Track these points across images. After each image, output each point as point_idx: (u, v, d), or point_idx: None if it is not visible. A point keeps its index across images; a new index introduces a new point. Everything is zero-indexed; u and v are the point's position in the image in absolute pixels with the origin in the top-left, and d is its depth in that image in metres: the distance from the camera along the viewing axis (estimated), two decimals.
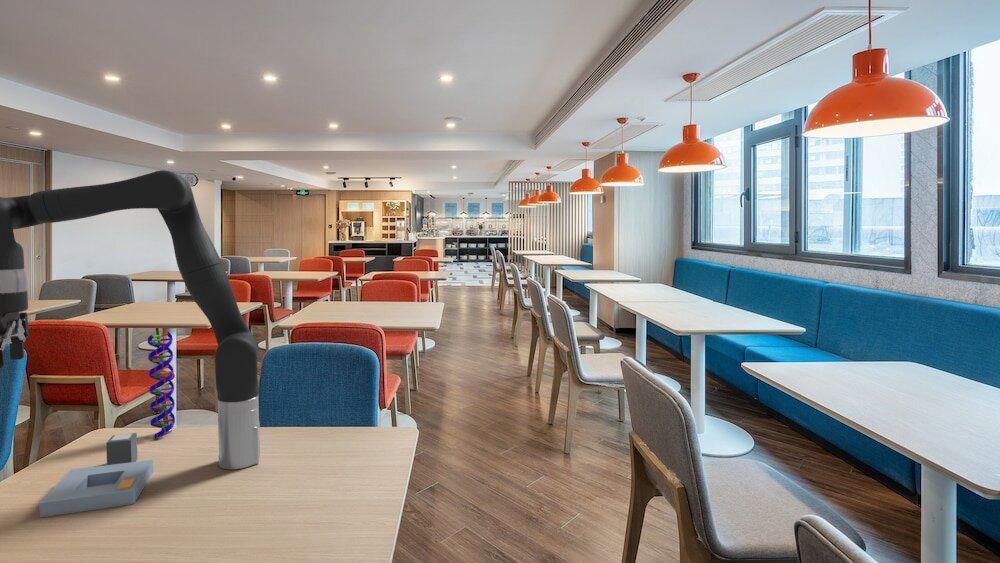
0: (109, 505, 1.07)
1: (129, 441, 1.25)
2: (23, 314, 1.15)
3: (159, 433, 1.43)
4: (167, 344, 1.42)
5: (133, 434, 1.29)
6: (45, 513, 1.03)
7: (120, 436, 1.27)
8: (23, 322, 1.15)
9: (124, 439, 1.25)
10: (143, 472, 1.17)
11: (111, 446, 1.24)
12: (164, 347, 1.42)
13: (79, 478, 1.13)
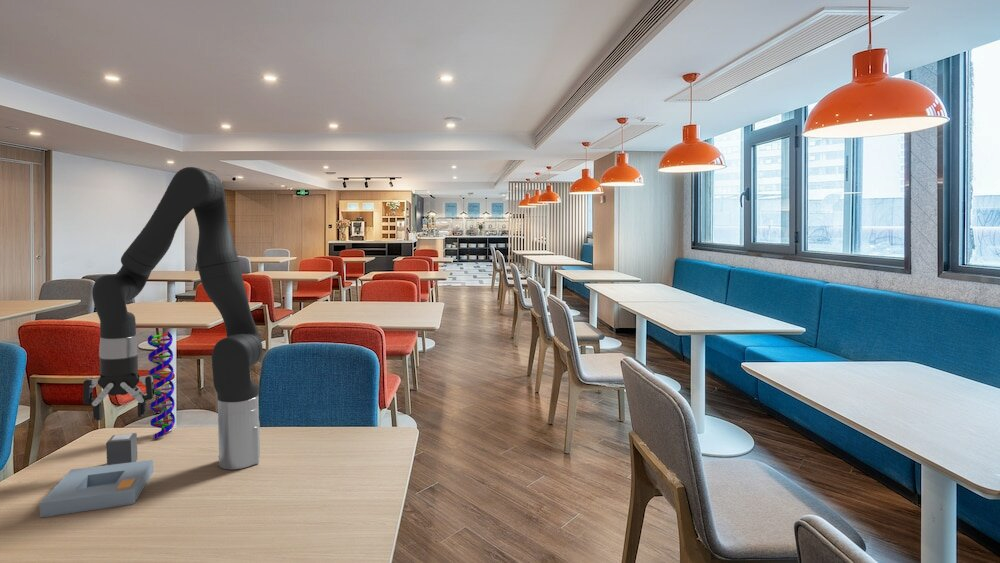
0: (109, 505, 1.07)
1: (129, 441, 1.25)
2: (92, 379, 1.24)
3: (159, 433, 1.43)
4: (167, 344, 1.42)
5: (133, 434, 1.29)
6: (45, 513, 1.03)
7: (120, 436, 1.27)
8: None
9: (124, 439, 1.25)
10: (143, 472, 1.17)
11: (111, 446, 1.24)
12: (164, 347, 1.42)
13: (79, 478, 1.13)
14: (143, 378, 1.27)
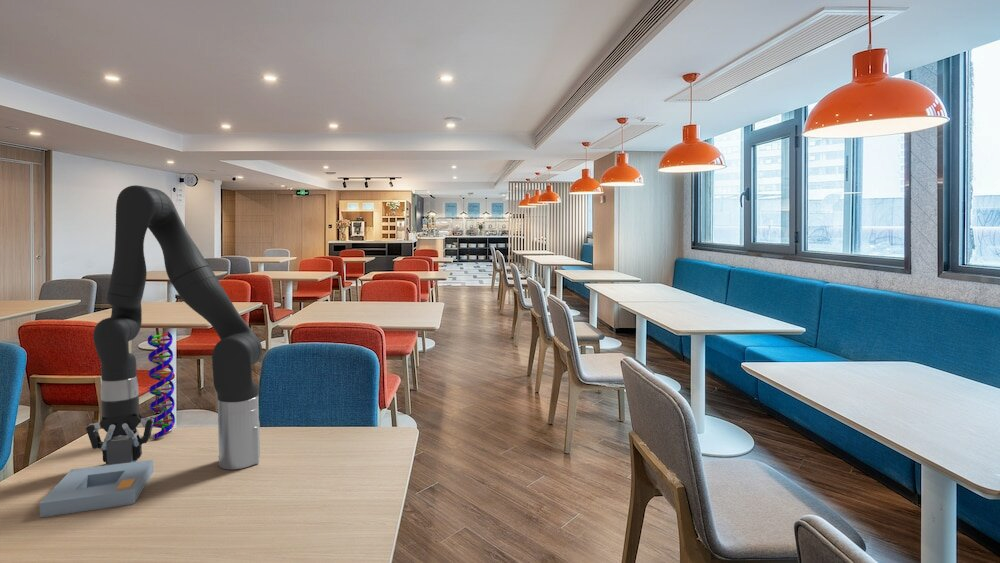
0: (109, 505, 1.07)
1: (129, 441, 1.25)
2: None
3: (159, 433, 1.43)
4: (167, 344, 1.42)
5: None
6: (45, 513, 1.03)
7: (120, 436, 1.27)
8: None
9: (124, 439, 1.25)
10: (143, 472, 1.17)
11: (111, 446, 1.24)
12: (164, 347, 1.42)
13: (79, 478, 1.13)
14: (144, 420, 1.28)
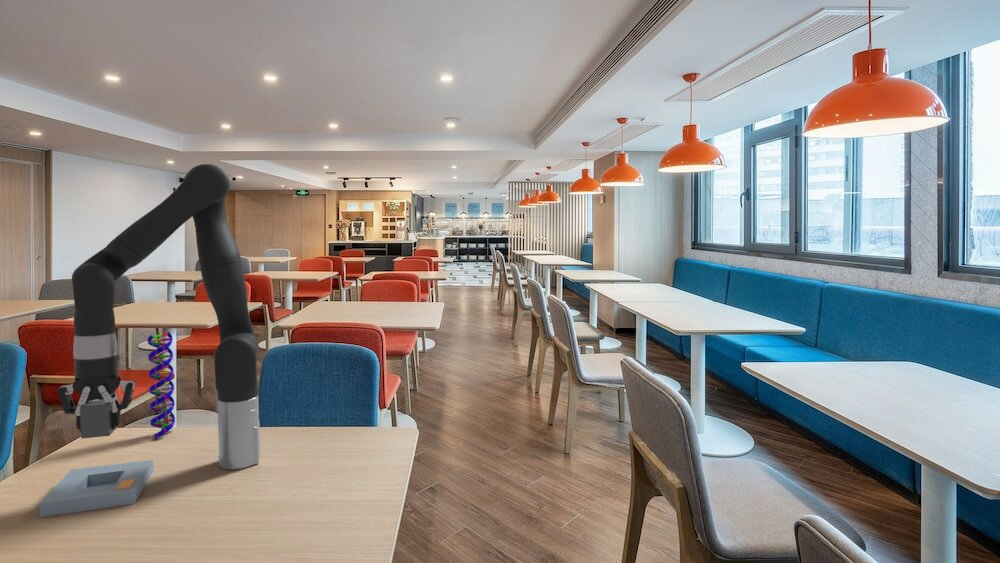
0: (109, 505, 1.07)
1: (106, 406, 1.10)
2: (67, 386, 1.10)
3: (159, 433, 1.43)
4: (167, 344, 1.42)
5: None
6: (45, 513, 1.03)
7: (96, 401, 1.12)
8: (70, 394, 1.10)
9: (100, 404, 1.10)
10: (143, 472, 1.17)
11: (86, 411, 1.09)
12: (164, 347, 1.42)
13: (79, 478, 1.13)
14: (124, 383, 1.13)
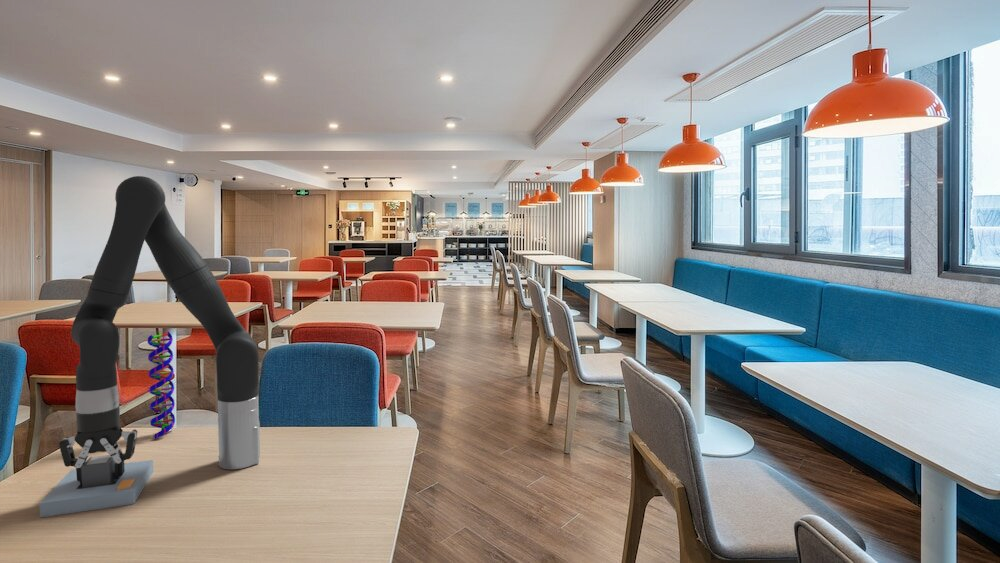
0: (109, 505, 1.07)
1: (107, 464, 1.11)
2: (69, 438, 1.11)
3: (159, 433, 1.43)
4: (167, 344, 1.42)
5: None
6: (45, 513, 1.03)
7: (98, 458, 1.13)
8: (71, 446, 1.11)
9: (102, 462, 1.11)
10: (143, 472, 1.17)
11: (87, 471, 1.10)
12: (164, 347, 1.42)
13: None
14: (126, 434, 1.14)
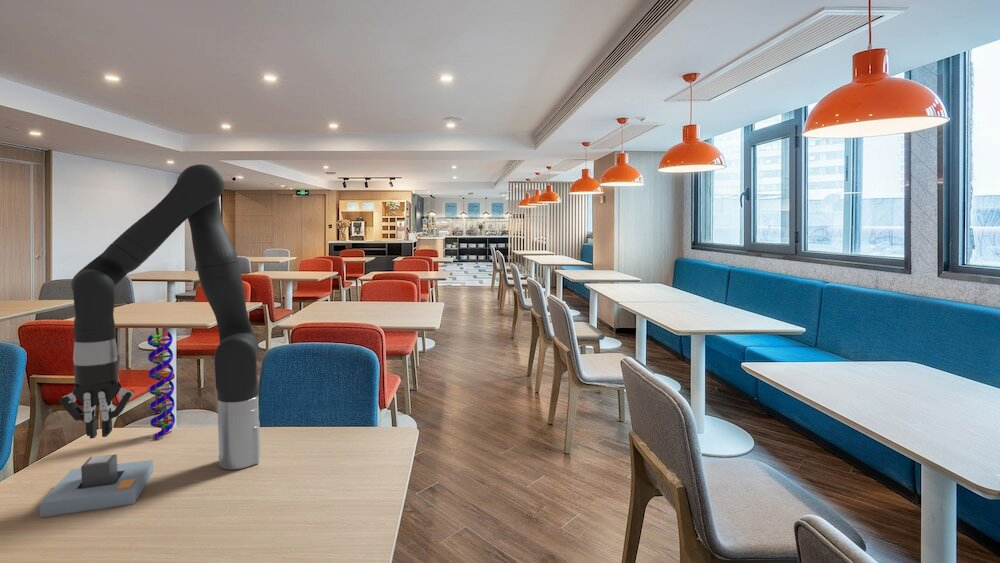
0: (109, 505, 1.07)
1: (107, 464, 1.11)
2: None
3: (159, 433, 1.43)
4: (167, 344, 1.42)
5: (113, 456, 1.15)
6: (45, 513, 1.03)
7: (98, 458, 1.13)
8: (74, 402, 1.11)
9: (102, 462, 1.11)
10: (143, 472, 1.17)
11: (87, 471, 1.10)
12: (164, 347, 1.42)
13: (79, 478, 1.13)
14: (123, 392, 1.13)
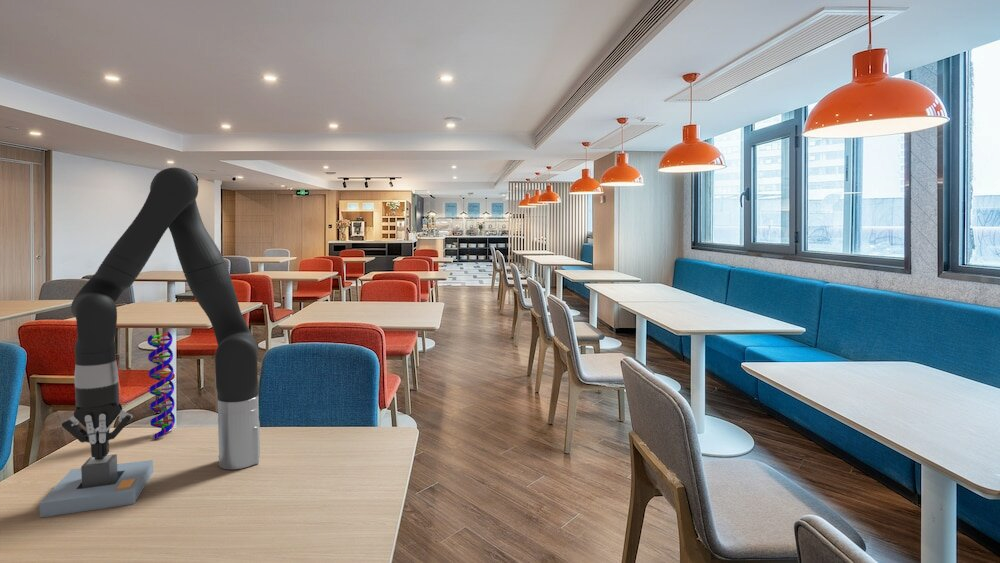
0: (109, 505, 1.07)
1: (107, 464, 1.11)
2: None
3: (159, 433, 1.43)
4: (167, 344, 1.42)
5: (113, 456, 1.15)
6: (45, 513, 1.03)
7: None
8: (77, 424, 1.11)
9: (102, 462, 1.11)
10: (143, 472, 1.17)
11: (87, 471, 1.10)
12: (164, 347, 1.42)
13: (79, 478, 1.13)
14: (123, 414, 1.13)
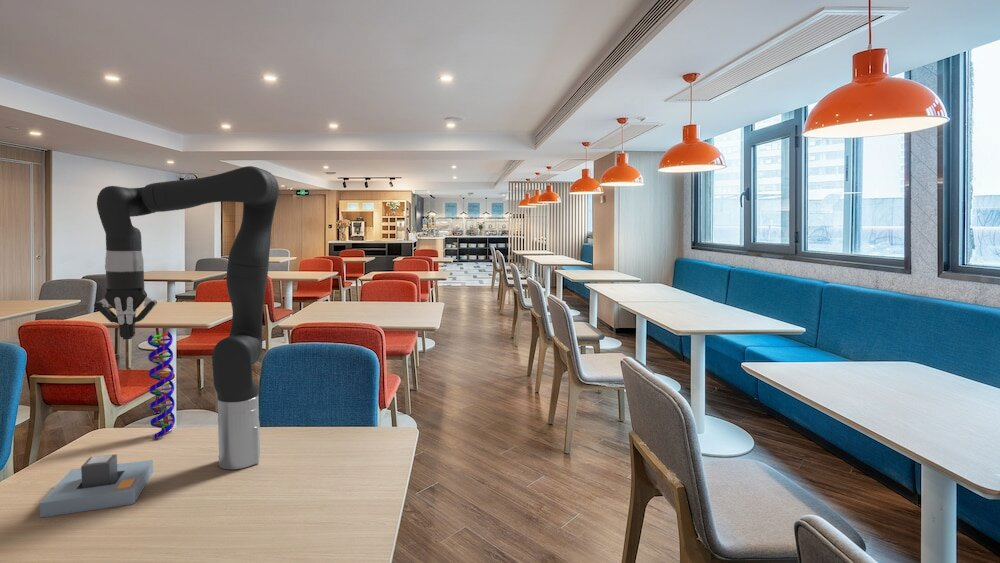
0: (109, 505, 1.07)
1: (107, 464, 1.11)
2: None
3: (159, 433, 1.43)
4: (167, 344, 1.42)
5: (113, 456, 1.15)
6: (45, 513, 1.03)
7: (98, 458, 1.13)
8: (107, 307, 1.24)
9: (102, 462, 1.11)
10: (143, 472, 1.17)
11: (87, 471, 1.10)
12: (164, 347, 1.42)
13: (79, 478, 1.13)
14: (148, 300, 1.26)
